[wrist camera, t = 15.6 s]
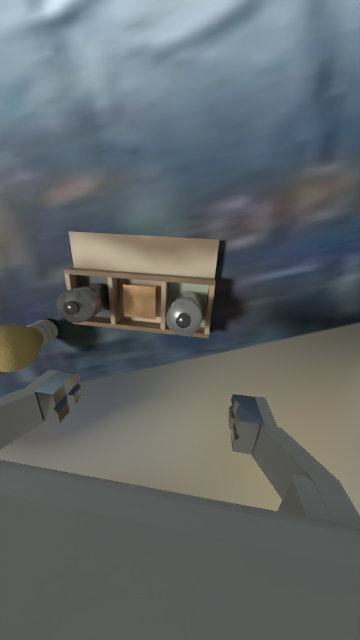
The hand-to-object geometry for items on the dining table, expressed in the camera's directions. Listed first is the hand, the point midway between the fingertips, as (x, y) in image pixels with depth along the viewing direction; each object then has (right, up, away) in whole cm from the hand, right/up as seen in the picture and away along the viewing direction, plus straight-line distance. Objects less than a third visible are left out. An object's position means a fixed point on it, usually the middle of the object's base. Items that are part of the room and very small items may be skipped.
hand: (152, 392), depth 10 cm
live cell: (+3, +6, +16) cm, 18 cm away
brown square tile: (-4, +7, +17) cm, 19 cm away
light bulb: (-21, +2, +23) cm, 31 cm away
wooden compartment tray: (-4, +9, +18) cm, 20 cm away
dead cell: (-11, +7, +18) cm, 22 cm away
